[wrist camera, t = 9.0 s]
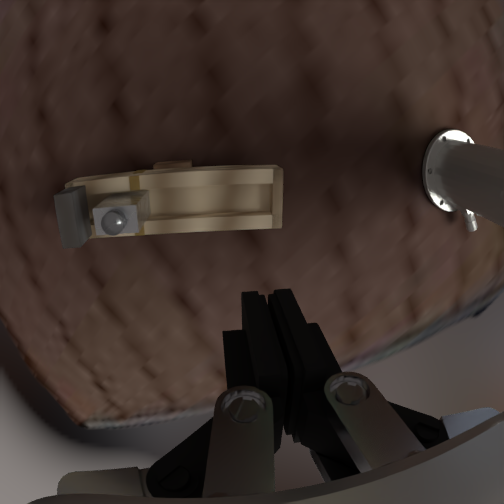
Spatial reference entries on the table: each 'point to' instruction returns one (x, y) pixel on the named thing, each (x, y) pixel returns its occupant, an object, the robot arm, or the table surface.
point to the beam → (178, 199)
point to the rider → (122, 213)
